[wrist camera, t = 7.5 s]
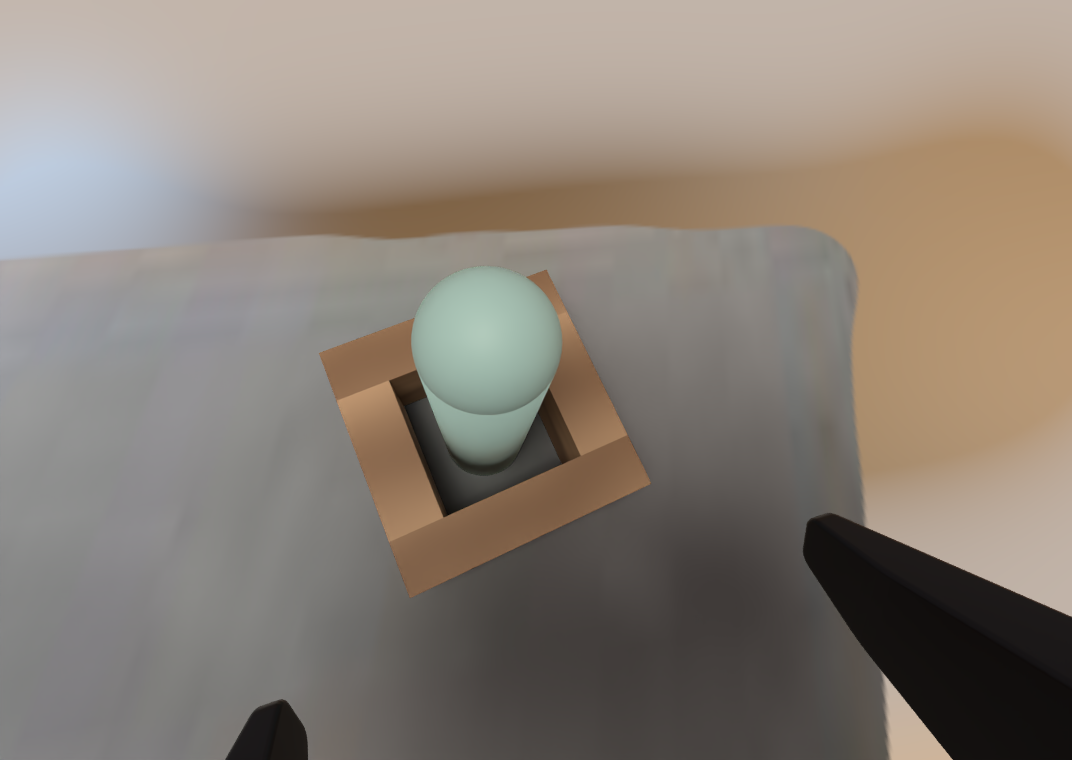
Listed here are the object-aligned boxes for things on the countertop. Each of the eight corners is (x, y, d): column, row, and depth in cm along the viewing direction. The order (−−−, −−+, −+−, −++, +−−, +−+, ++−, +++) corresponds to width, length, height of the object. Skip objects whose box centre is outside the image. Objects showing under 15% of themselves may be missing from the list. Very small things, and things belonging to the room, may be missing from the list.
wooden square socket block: (622, 491, 23) (651, 483, 19) (422, 586, 21) (409, 598, 17) (536, 310, 25) (546, 269, 21) (345, 383, 23) (319, 353, 19)
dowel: (525, 471, 23) (584, 388, 10) (448, 479, 22) (405, 404, 9) (517, 398, 24) (562, 232, 11) (443, 404, 23) (397, 240, 10)
